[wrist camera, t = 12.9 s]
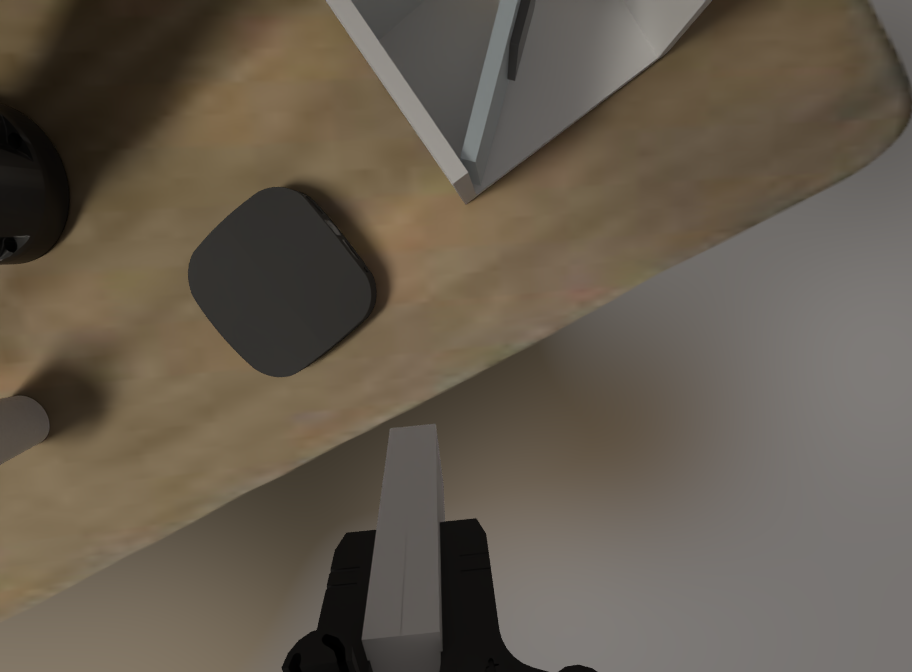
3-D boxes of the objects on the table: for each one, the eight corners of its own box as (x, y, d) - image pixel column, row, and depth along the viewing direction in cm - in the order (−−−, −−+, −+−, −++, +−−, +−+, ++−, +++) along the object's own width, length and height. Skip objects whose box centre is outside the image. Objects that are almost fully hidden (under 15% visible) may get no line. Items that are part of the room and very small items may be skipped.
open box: (685, 39, 35) (779, -68, 23) (465, 204, 39) (452, 184, 27) (574, -145, 34) (616, -358, 22) (357, 47, 37) (293, -46, 26)
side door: (545, -28, 34) (565, -141, 24) (487, 187, 37) (484, 164, 27) (525, -33, 34) (537, -148, 24) (469, 182, 37) (460, 158, 28)
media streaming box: (187, 270, 43) (165, 272, 40) (294, 172, 40) (278, 165, 37) (285, 386, 44) (270, 395, 41) (394, 298, 42) (386, 301, 39)
